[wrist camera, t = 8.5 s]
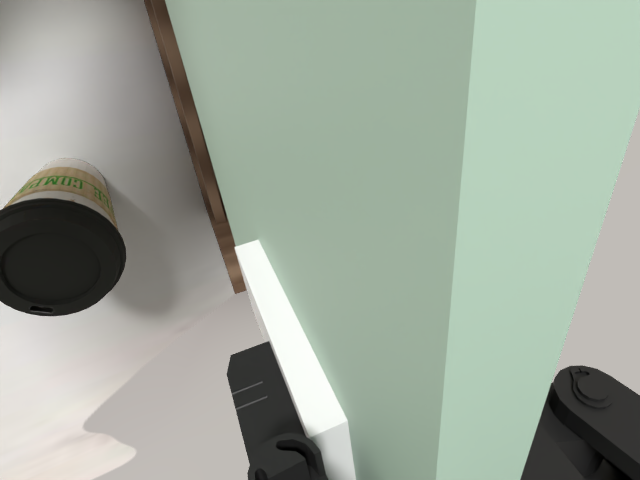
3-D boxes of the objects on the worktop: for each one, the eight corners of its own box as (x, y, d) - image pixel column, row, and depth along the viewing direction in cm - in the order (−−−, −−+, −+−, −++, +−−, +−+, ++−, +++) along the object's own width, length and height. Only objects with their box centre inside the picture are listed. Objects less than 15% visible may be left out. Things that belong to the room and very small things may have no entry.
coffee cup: (137, 158, 44) (142, 228, 32) (112, 239, 47) (107, 329, 35) (23, 124, 39) (-21, 193, 27) (4, 217, 42) (-43, 314, 30)
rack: (108, -119, 33) (98, -171, 21) (281, -134, 36) (361, -186, 24) (208, 214, 50) (235, 293, 38) (319, 183, 53) (377, 247, 41)
